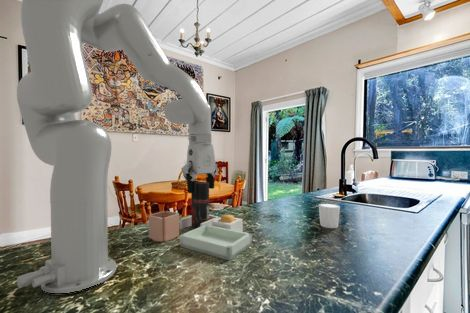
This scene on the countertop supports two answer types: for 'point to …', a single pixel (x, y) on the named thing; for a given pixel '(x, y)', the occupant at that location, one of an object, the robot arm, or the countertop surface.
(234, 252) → the trough
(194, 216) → the deodorant
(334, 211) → the white tapered cylinder
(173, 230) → the cup
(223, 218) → the button
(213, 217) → the white recessed tray
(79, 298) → the countertop surface
